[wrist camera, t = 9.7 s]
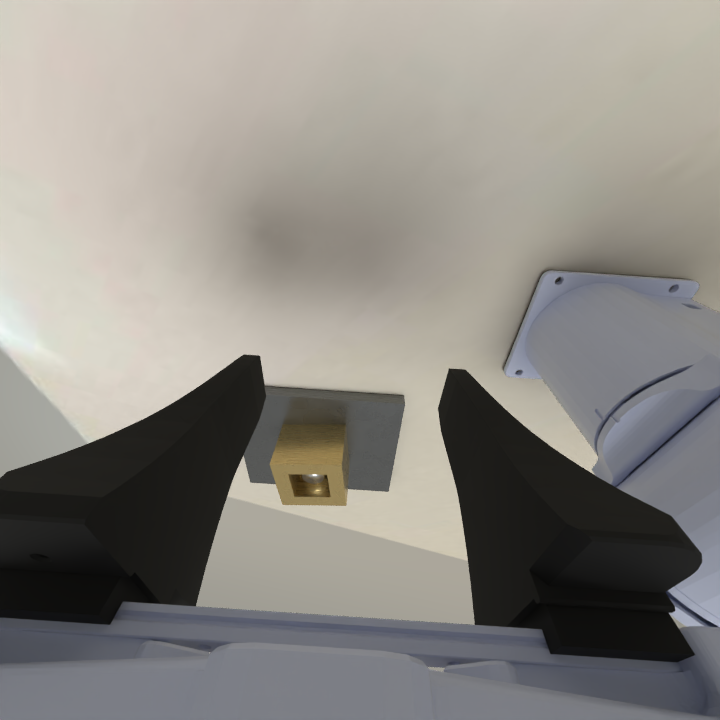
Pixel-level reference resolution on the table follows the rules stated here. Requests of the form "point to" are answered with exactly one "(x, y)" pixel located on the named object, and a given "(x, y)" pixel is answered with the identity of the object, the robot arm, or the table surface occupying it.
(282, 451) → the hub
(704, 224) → the table surface
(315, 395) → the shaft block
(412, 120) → the table surface
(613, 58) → the table surface
